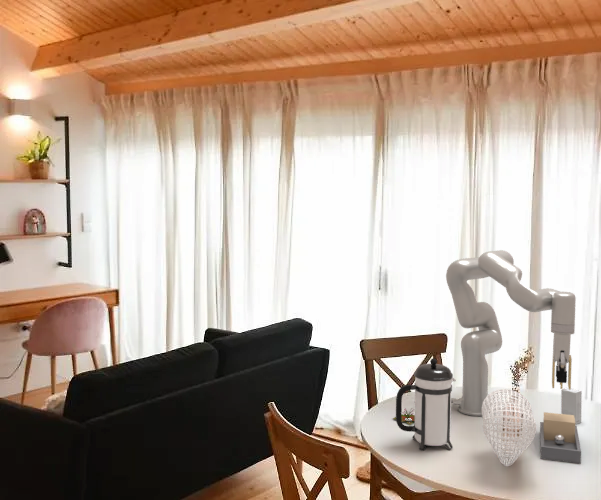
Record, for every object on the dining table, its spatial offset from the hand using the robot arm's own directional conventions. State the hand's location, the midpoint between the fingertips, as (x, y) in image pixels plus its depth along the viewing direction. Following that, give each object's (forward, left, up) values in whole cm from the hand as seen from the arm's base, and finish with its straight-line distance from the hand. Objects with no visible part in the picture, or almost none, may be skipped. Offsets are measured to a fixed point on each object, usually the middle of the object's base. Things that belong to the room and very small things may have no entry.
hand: (561, 379), depth 233 cm
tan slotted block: (0, 0, -3) cm, 3 cm away
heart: (-16, -28, -22) cm, 39 cm away
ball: (0, -7, -19) cm, 20 cm away
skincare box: (+5, +21, -22) cm, 31 cm away
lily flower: (-53, +4, -22) cm, 58 cm away
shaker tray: (0, -7, -22) cm, 23 cm away
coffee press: (-42, -19, -22) cm, 51 cm away
